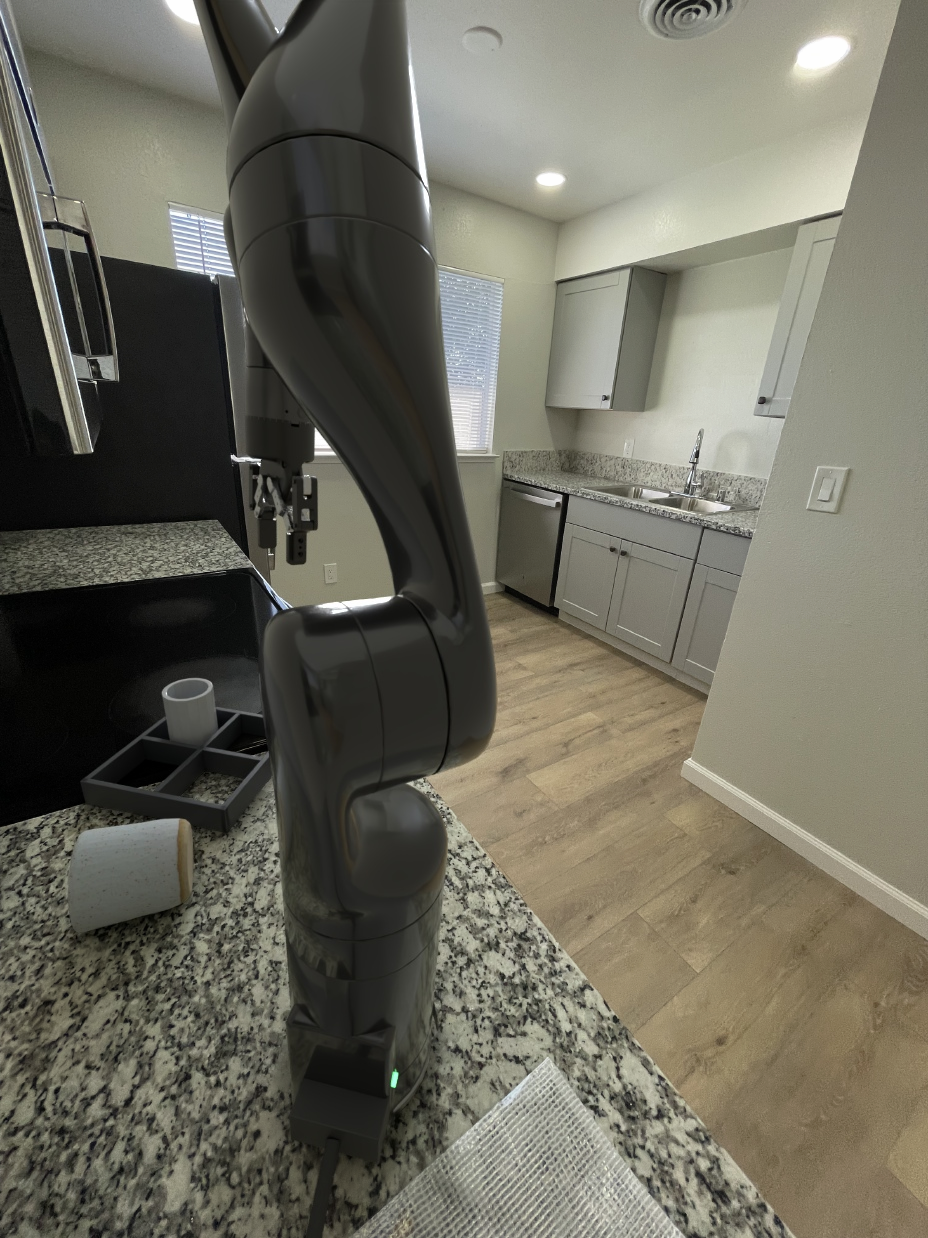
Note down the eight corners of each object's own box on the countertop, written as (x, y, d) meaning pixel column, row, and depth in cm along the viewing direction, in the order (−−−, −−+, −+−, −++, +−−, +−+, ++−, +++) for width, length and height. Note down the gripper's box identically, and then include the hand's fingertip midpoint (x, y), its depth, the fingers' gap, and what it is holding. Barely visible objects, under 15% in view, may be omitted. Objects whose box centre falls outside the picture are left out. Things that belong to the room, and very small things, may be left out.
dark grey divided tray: (227, 833, 52) (224, 810, 51) (85, 804, 54) (79, 781, 53) (300, 740, 67) (299, 721, 66) (187, 720, 69) (184, 701, 67)
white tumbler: (201, 760, 61) (193, 704, 58) (161, 753, 62) (151, 696, 59) (227, 735, 66) (221, 681, 63) (190, 728, 67) (182, 675, 64)
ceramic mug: (195, 921, 43) (184, 852, 40) (77, 956, 40) (56, 884, 37) (198, 832, 52) (189, 770, 49) (101, 854, 48) (86, 789, 46)
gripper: (224, 409, 60) (229, 544, 65) (274, 415, 50) (275, 572, 56) (286, 417, 65) (286, 542, 70) (341, 423, 55) (336, 567, 61)
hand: (281, 555), depth 63 cm, fingers open, 8 cm apart
